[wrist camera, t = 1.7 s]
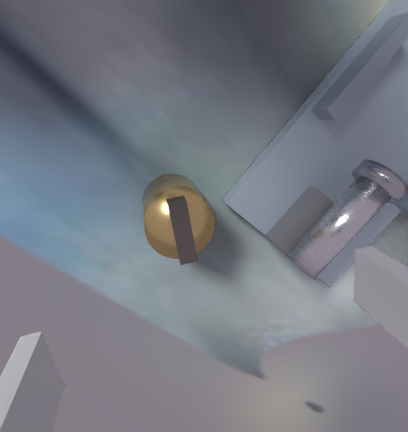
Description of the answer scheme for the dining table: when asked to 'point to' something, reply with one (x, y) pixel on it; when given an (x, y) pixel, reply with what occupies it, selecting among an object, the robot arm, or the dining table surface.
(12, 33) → the dining table surface
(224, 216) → the dining table surface
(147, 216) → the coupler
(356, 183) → the shaft
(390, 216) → the bench
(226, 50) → the dining table surface
